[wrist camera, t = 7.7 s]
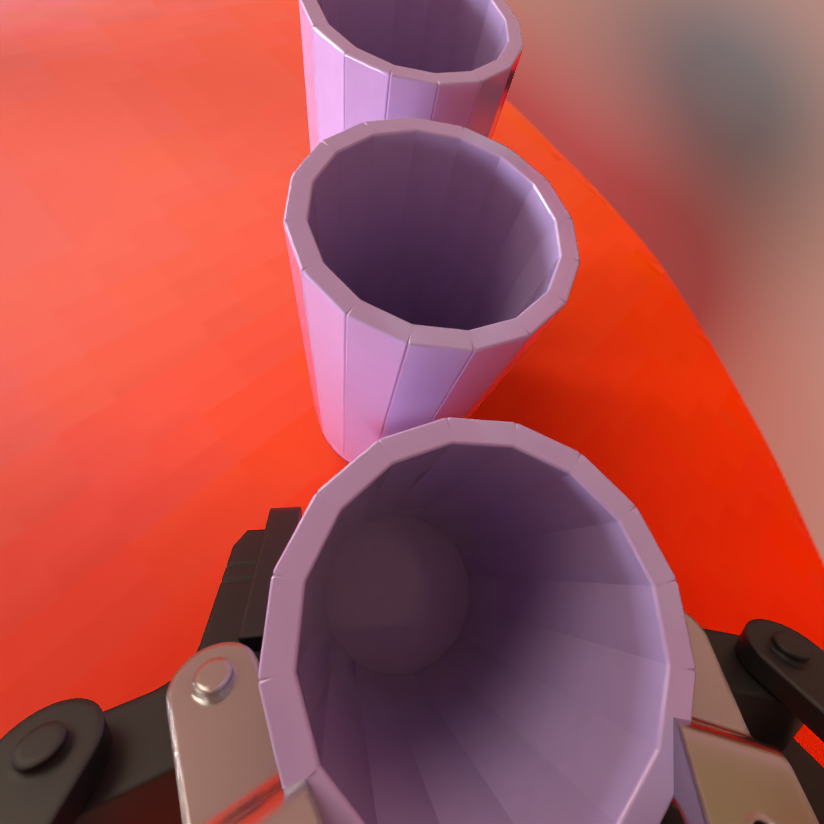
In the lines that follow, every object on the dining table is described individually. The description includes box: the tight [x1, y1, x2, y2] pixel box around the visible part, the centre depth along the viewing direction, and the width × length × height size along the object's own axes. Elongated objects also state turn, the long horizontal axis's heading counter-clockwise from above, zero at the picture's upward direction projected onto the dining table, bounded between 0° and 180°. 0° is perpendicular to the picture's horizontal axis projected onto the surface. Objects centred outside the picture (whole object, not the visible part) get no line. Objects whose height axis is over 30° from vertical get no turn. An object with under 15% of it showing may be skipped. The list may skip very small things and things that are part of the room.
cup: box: [299, 0, 523, 152], centre depth 15 cm, size 6×6×10 cm
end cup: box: [258, 417, 696, 824], centre depth 10 cm, size 6×6×10 cm
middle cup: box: [283, 117, 580, 463], centre depth 12 cm, size 6×6×10 cm
